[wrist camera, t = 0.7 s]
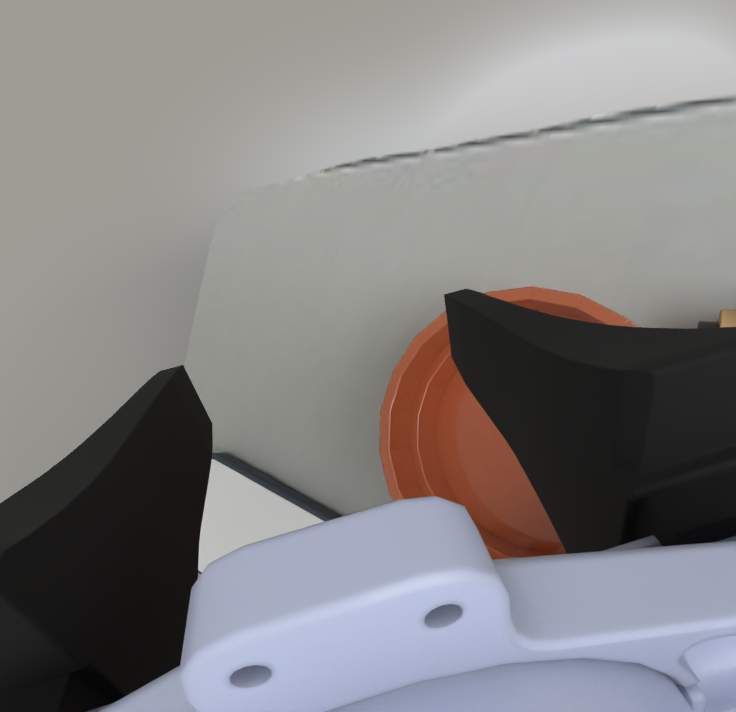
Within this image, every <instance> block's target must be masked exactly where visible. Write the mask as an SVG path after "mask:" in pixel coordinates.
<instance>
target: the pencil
mask: <svg viewBox="0 0 736 712" xmlns="http://www.w3.org/2000/svg"><path fill="white" fill-rule="evenodd" d="M720 327H736V310H721V311H720V315H719V319H718V323H717V322H702V321H700V322H699V323H698V328H720ZM698 328H697V329H698Z"/></svg>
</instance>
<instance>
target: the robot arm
mask: <svg viewBox="0 0 736 712" xmlns="http://www.w3.org/2000/svg"><path fill="white" fill-rule="evenodd" d="M444 297H445V305H446V314H447V323H448V331H449V340H450V348H451V357H452V359H453V361H454V363H455V365H456V367H457V369H458V371H459V373H460V375H461V377H462V379H463V381H464V382H465V384H466V386H467V387H468V389H469V390H470V391H471V393H472V394H473V396H474V397H475V398H476V400H477V401H478V403H479V404H480V405H481V407H482V408H483V410H484V411H485V412H486V414H487V415H488V416H489V418H490V419H491V421H492V422H493V423H494V425H495V426H496V427H497V429H498V430H499V432H500V433H501V434H502V436H503V437H504V438H505V440H506V441H507V443H508V445H509V446H510V448H511V449H512V451H513V452H514V454H515V456H516V458H517V459H518V461H519V463H520V465H521V467H522V468H523V470H524V472H525V474H526V475H527V477H528V479H529V481H530V483H531V485H532V486H533V488H534V490H535V492H536V494H537V496H538V498H539V500H540V502H541V503H542V505H543V507H544V509H545V511H546V513H547V515H548V517H549V519H550V521H551V523H552V525H553V527H554V529H555V531H556V533H557V535H558V537H559V539H560V541H561V543H562V545H563V547H564V549H565V551H566V553H567V554H559V555H547V556H534V557H521V558H508V559H496V560H492V558H491V556H490V554H489V552H488V550H487V548H486V546H485V544H484V542H483V540H482V537H481V535H480V533H479V531H478V529H477V527H476V525H475V523H474V522H473V520H472V518H471V517H470V515H469V513H468V511H467V510H466V508H465V506H462V505H460V504H457V503H454V502H451V501H448V500H446V499H443V498H440V497H437V496H428V497H419V498H409V499H400V500H396V501H393V502H390V503H386V504H383V505H379V506H376V507H373V508H369V509H366V510H363V511H359V512H356V513H352V514H349V515H346V516H342V517H339V518H335V519H332V520H329V521H325V522H322V523H319V524H315V525H312V526H308V527H305V528H302V529H298V530H295V531H291V532H288V533H285V534H281V535H278V536H275V537H271V538H268V539H264V540H261V541H258V542H254V543H251V544H247V545H244V546H242V547H240V548H238V549H236V550H234V551H232V552H230V553H228V554H226V555H224V556H222V557H220V558H218V559H217V560H215V561H213V562H211V563H209V564H208V565H207V566H206V568H205V569H204V570H203V572H202V573H201V575H200V576H199V578H198V559H199V541H200V532H201V524H202V518H203V512H204V506H205V499H206V493H207V487H208V481H209V474H210V468H211V461H212V422H211V420H210V418H209V416H208V414H207V412H206V410H205V408H204V406H203V404H202V402H201V400H200V398H199V396H198V394H197V392H196V390H195V388H194V386H193V384H192V382H191V380H190V378H189V376H188V374H187V372H186V370H185V368H184V366H183V365H181V366H178V367H174V368H170V369H167V370H163V371H160V372H158V373H157V374H156V375H154V376H153V377H152V378H151V379H150V380H149V381H148V382H146V383H145V384H144V385H143V386H142V387H141V388H140V389H139V390H138V391H137V392H136V393H135V394H134V395H133V396H132V397H131V398H130V399H129V400H128V401H127V402H126V403H125V404H124V405H123V406H122V407H121V408H120V409H119V410H118V411H117V412H116V413H115V414H114V415H113V416H112V417H111V418H109V419H108V420H107V421H106V422H105V423H104V424H103V425H102V426H101V427H100V428H99V429H97V430H96V431H95V432H94V433H93V434H92V435H91V436H90V437H89V438H88V439H86V440H85V441H84V442H83V443H82V444H81V445H80V446H78V447H77V448H76V449H75V450H74V451H73V452H71V453H70V454H69V455H68V456H67V457H65V458H64V459H63V460H61V461H60V462H59V463H57V464H56V465H55V466H53V467H52V468H51V469H50V470H49V471H47V472H46V473H44V474H43V475H42V476H40V477H39V478H37V479H36V480H35V481H33V482H32V483H30V484H29V485H27V486H26V487H24V488H23V489H21V490H20V491H18V492H17V493H15V494H14V495H12V496H11V497H9V498H8V499H6V500H5V501H3V502H2V503H0V712H736V327H720V328H698V329H670V328H641V327H628V326H617V325H607V324H599V323H592V322H586V321H580V320H574V319H569V318H564V317H559V316H555V315H551V314H547V313H543V312H539V311H536V310H532V309H529V308H525V307H522V306H519V305H516V304H513V303H509V302H506V301H503V300H500V299H497V298H495V297H492V296H489V295H486V294H483V293H479V292H476V291H473V290H468V289H464V290H460V291H456V292H453V293H449V294H445V295H444Z"/></svg>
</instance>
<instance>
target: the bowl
mask: <svg viewBox="0 0 736 712" xmlns="http://www.w3.org/2000/svg"><path fill="white" fill-rule="evenodd" d="M484 294H486V295H489V296H492V297H495V298H497V299H500V300H503V301H506V302H509V303H513V304H516V305H519V306H522V307H525V308H529V309H532V310H536V311H539V312H543V313H547V314H551V315H555V316H559V317H564V318H569V319H574V320H580V321H586V322H592V323H599V324H607V325H617V326H628V327H636V326H635V325H634V324H633V323H632V322H631V321H629V320H628V319H627V318H625V317H623V316H621V315H619V314H617V313H615V312H613V311H611V310H610V309H608V308H606V307H604V306H602V305H600V304H598V303H596V302H594V301H592V300H590V299H588V298H586V297H585V296H581V295H579V294H573V293H567V292H562V291H556V290H550V289H544V288H539V287H524V288H516V289H509V290H501V291H493V292H487V293H484ZM393 371H394V372H393V373H392V376H391V379H390V382H389V385H388V389H387V392H386V395H385V398H384V401H383V405H382V408H381V419H380V447H379V450H380V456H381V461H382V465H383V469H384V473H385V478H386V482H387V486H388V491H389V492H390V495H391V497H392V499H393V501H396V500H400V499H409V498H419V497H428V496H437V497H440V498H443V499H446V500H448V501H451V502H454V503H457V504H460V505H462V506H465V508H466V510H467V511H468V513H469V515H470V517H471V518H472V520H473V522H474V523H475V525H476V527H477V529H478V531H479V533H480V535H481V537H482V540H483V542H484V544H485V546H486V548H487V550H488V552H489V554H490V556H491V558H492V560H496V559H508V558H521V557H534V556H547V555H559V554H567V553H566V551H565V549H564V547H563V545H562V543H561V541H560V539H559V537H558V535H557V533H556V531H555V529H554V527H553V525H552V523H551V521H550V519H549V517H548V515H547V513H546V511H545V509H544V507H543V505H542V503H541V502H540V500H539V498H538V496H537V494H536V492H535V490H534V488H533V486H532V485H531V483H530V481H529V479H528V477H527V475H526V474H525V472H524V470H523V468H522V467H521V465H520V463H519V461H518V459H517V458H516V456H515V454H514V452H513V451H512V449H511V448H510V446H509V445H508V443H507V441H506V440H505V438H504V437H503V436H502V434H501V433H500V432H499V430H498V429H497V427H496V426H495V425H494V423H493V422H492V421H491V419H490V418H489V416H488V415H487V414H486V412H485V411H484V410H483V408H482V407H481V405H480V404H479V403H478V401H477V400H476V398H475V397H474V396H473V394H472V393H471V391H470V390H469V389H468V387H467V386H466V384H465V382H464V381H463V379H462V377H461V375H460V373H459V371H458V369H457V367H456V365H455V363H454V361H453V359H452V357H451V348H450V340H449V331H448V323H447V314H446V311H445V312H444V313H443V314H441V315H440V316H439V317H438V318H437V319H436V320H434V321H433V322H432V323H431V324H430V325H429V326H428V327H426V328H425V329H424V330H423V331H422V332H421V333H419V334H418V335H417V336H416V338H414V340H413V341H412V343H411V344H410V346H409V347H408V349H407V350H406V352H405V353H404V355H403V356H402V358H401V359H400V361H399V363H398V364H397V366H396V367H395V369H394V370H393Z"/></svg>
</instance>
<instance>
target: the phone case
mask: <svg viewBox="0 0 736 712" xmlns="http://www.w3.org/2000/svg"><path fill="white" fill-rule="evenodd" d="M339 517H342V516H340V515H338V514H337V513H335V512H333V511H331V510H329V509H327V508H325V507H324V506H322V505H320V504H318V503H316V502H314V501H312V500H311V499H309V498H307V497H305V496H303V495H301V494H300V493H298V492H296V491H294V490H292V489H290V488H288V487H287V486H285V485H283V484H281V483H279V482H277V481H276V480H274V479H272V478H270V477H269V476H267V475H265V474H263V473H261V472H259V471H257V470H255V469H253V468H251V467H250V466H248V465H246V464H244V463H242V462H240V461H238V460H237V459H235V458H233V457H231V456H229V455H227V454H225V453H212V461H211V468H210V474H209V481H208V487H207V493H206V499H205V506H204V512H203V518H202V524H201V532H200V541H199V559H198V573H199V574H200V575H201V573H202V572H203V570H204V569H205V568H206V566H207V565H208V564H209V563H211V562H213V561H215V560H217V559H218V558H220V557H222V556H224V555H226V554H228V553H230V552H232V551H234V550H236V549H238V548H240V547H242V546H244V545H247V544H251V543H254V542H258V541H261V540H264V539H268V538H271V537H275V536H278V535H281V534H285V533H288V532H291V531H295V530H298V529H302V528H305V527H308V526H312V525H315V524H319V523H322V522H325V521H329V520H332V519H335V518H339Z"/></svg>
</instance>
